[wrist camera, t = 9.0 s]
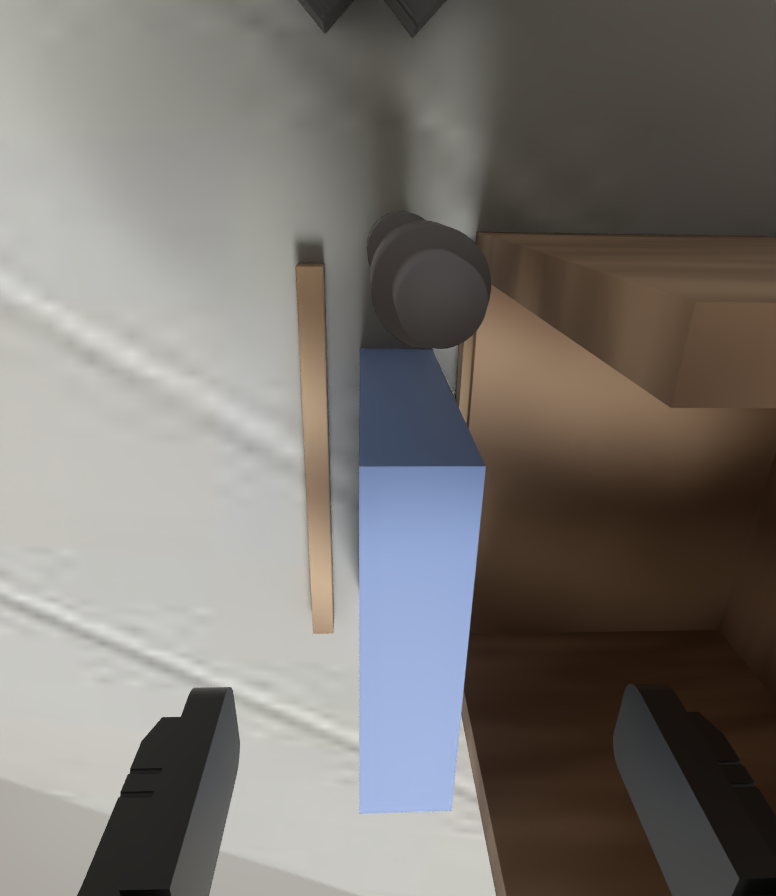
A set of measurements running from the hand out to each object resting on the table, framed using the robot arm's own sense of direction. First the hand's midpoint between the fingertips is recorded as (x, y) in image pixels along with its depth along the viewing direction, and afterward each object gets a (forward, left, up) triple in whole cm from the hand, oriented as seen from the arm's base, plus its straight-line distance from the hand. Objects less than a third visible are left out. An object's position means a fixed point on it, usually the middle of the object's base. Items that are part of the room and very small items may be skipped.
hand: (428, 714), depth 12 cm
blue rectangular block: (0, 0, -10) cm, 10 cm away
